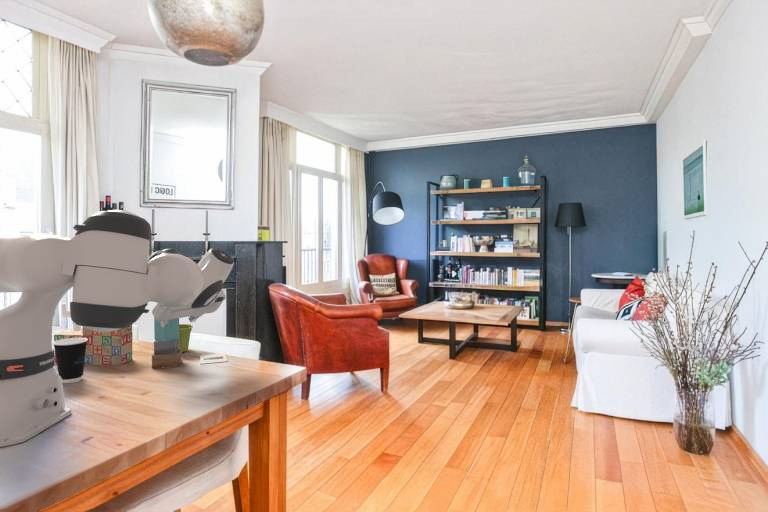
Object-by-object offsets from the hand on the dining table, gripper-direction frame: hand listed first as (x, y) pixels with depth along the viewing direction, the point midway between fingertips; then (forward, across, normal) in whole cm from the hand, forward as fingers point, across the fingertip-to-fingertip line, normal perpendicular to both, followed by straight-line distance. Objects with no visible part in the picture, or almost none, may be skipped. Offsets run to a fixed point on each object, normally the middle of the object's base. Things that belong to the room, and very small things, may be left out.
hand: (177, 322), depth 137 cm
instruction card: (+8, +12, -11) cm, 18 cm away
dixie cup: (+19, -24, 0) cm, 30 cm away
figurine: (+55, +2, +36) cm, 66 cm away
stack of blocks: (+29, -10, +10) cm, 32 cm away
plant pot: (+22, +12, +2) cm, 25 cm away
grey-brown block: (+13, 0, -6) cm, 14 cm away
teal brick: (+7, 0, 0) cm, 7 cm away
